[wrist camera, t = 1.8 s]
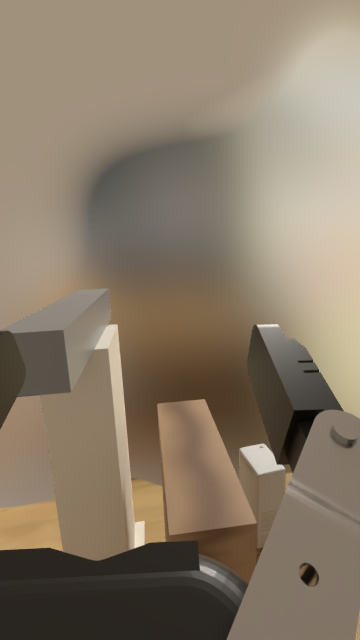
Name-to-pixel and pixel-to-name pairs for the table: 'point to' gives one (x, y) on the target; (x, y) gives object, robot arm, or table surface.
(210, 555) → the brown wooden block
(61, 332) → the grey block
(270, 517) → the skincare box
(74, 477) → the tall stand
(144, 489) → the table surface
